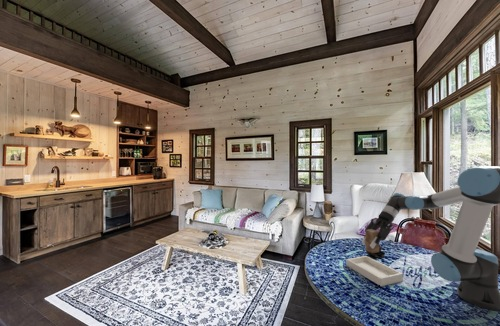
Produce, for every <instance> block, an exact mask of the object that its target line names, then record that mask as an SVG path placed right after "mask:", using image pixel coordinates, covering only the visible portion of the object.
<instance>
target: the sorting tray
mask: <svg viewBox="0 0 500 326" xmlns="http://www.w3.org/2000/svg"><path fill="white" fill-rule="evenodd" d="M345 265H346V267H349V268H350V269H351V270H353V271H355V272H356V273H357V274H359V275H362V276H363V277H365V279H368V280H370V281H372V282H373V283H374V284H377V285H378V286H379V285H380V287H384V286H389V285H392V284H396V283H400V282H403V281H404V273H403V272H400V271H399V270H396V269H394V268H392V267H390V266H388V265H386V264H384V263H382V262H380V261H378V260H377V259H374V258H372V257H370V256H369V255H368V256H367V255H364V256H358V257H351V258H347V259H346V264H345Z"/></svg>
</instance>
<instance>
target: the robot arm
mask: <svg viewBox="0 0 500 326" xmlns="http://www.w3.org/2000/svg"><path fill="white" fill-rule="evenodd" d="M457 185H458V186H456V187H453V188H449V189H446V190H442V191H439V192H438V191H437V192H435V193H431V194H429V195H409V196H408V195H407V196H406V195H405V194H402V193H399V192H395V193H394V194H392V196H391V197H390V199H389V200H388V202H387V203H386V204H385V206H384V207H383V209H382V210H381V211H380V213H379V214H378V216H377V218H376V219H374V218H372V219H370V223H369V224H368V225H367V226H366V228H365V229H364V231H365V230H368V229H373V230H376V231H379V233H378V236H377V237H375V238H374V240H373V241H372V243H371V244H370V246H371V248H372V249H374V247H375V246H376V244H378V243H379V244H380V241H382V240H383V241H386V239H387V237H388V236H389V234H390V233H391V231H392V230H394V229H395V227H394V226H393V225H392V223H393V221H395V219H396V217H397V215H398V214H399V213H400V211H401V210H413V211H417V210H418V211H419V210H437V209H441V208H442V207H445V206H451V205H454V204H459V203H461V206H460V209H459V212H458V214H457V217H456V220H455V222H454V225H453V227H452V228H453V229H452V232H451V234H450V237H449V240H448V242H447V244H443V245H442V246H441V248H440V251H439V252H436V253H434V254H433V255H432V256H431V258H430V263H431V266H432V267H433V270H434V271H435V273H436V274H437V275H438V276H439V277H440V278H442V279H443V280H445V281H448V282H456V283H457V282H459V284H458V285H457V288H456V294H457V296H458V297H460V298H461V299H462V300H464V301H466V302H467V303H469V304H471V305H474V306H477V307H479V308H482V309H486V310H490V311H491V310H492V311H500V289H499V265H500V263H499V258H498V256H496V255H495V254H493V253H491V252H489V251H486V250H482V249H479V248H477V247H478V245H479V242H480V240H481V239H482V238H481V237H482V235H483V232H484V230H485V228H486V225H487V223H488V221H489V217H490V215H491V213H492V211H493V209H494V206H498V205H500V166H486V165H482V166H481V165H480V166H473V167H470V168H466V169H465V170H463V171H462V172H461V173H460V174H459V176H458V177H457ZM378 229H379V230H378ZM361 243H362V245H364V246H365V235H364V236H363V239H362V241H361Z"/></svg>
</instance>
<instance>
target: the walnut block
mask: <svg viewBox="0 0 500 326" xmlns="http://www.w3.org/2000/svg"><path fill="white" fill-rule="evenodd" d="M378 233H379V230H373V229H368V230H365V229H364V236H365V245H364V246H365V251H366V250H367V251H369V252H371V253H377V252H379V245H380V242H379V243H378V244H376V246H375V247H374V249H372V248H371V246H370V244H371V243H372V241H373V240H374V238H375V237H377V236H378Z"/></svg>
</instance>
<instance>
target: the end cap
mask: <svg viewBox="0 0 500 326" xmlns="http://www.w3.org/2000/svg"><path fill="white" fill-rule="evenodd" d="M365 251H366V254H367V255H368V257H370V258H372V257H373V258H372V259H374V258H375V259H374V260H377V259H381V258H385V255H386V253H385V251H386V248H385V247H382V246H381V245H380V244H379V252H377V253H371V252H369V251H367V250H365Z"/></svg>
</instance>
